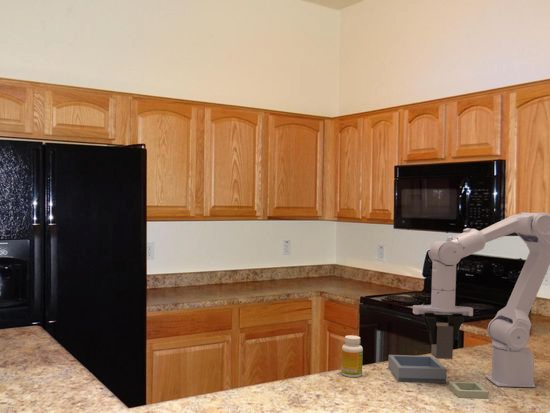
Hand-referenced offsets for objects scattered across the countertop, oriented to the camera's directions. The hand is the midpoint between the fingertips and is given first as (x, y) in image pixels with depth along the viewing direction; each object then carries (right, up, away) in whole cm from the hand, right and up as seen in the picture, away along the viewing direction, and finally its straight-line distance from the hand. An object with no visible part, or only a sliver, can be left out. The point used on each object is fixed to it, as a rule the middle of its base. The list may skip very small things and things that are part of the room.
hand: (441, 343), depth 137 cm
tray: (-5, -10, +7) cm, 13 cm away
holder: (+4, -10, -6) cm, 13 cm away
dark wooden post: (0, -3, 0) cm, 3 cm away
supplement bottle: (-22, -10, +5) cm, 24 cm away
